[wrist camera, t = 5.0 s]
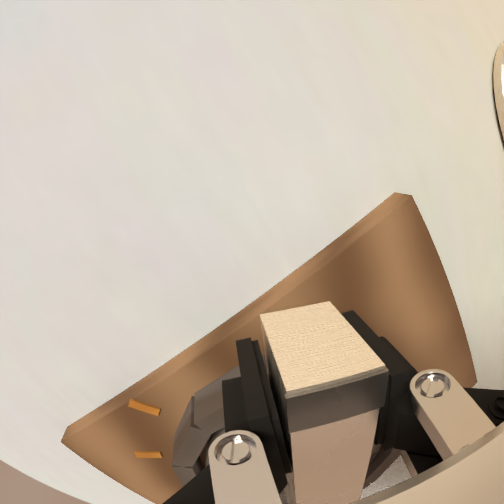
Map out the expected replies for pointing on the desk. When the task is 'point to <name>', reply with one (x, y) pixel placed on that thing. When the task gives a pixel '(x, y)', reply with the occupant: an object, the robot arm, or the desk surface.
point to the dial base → (249, 325)
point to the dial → (322, 401)
